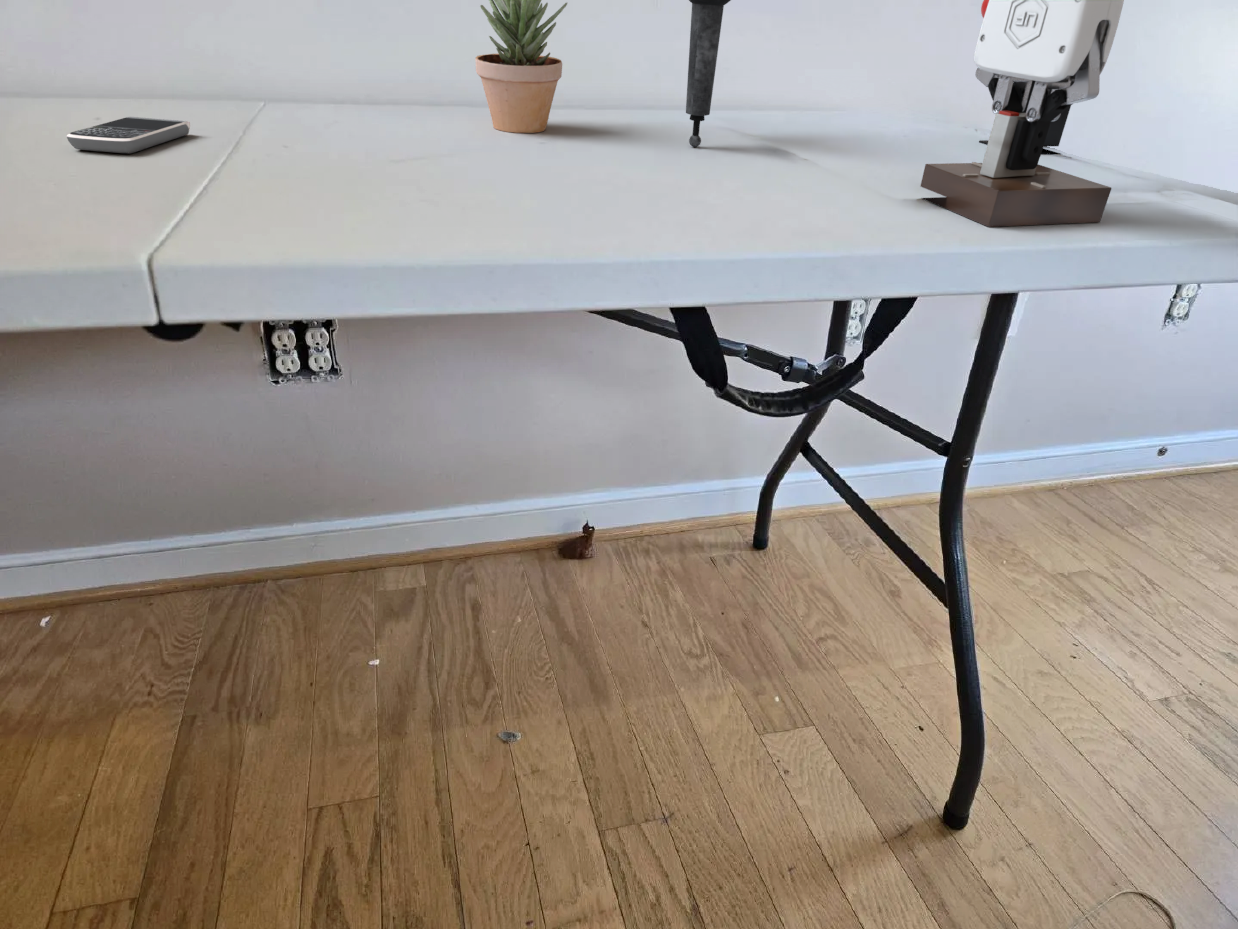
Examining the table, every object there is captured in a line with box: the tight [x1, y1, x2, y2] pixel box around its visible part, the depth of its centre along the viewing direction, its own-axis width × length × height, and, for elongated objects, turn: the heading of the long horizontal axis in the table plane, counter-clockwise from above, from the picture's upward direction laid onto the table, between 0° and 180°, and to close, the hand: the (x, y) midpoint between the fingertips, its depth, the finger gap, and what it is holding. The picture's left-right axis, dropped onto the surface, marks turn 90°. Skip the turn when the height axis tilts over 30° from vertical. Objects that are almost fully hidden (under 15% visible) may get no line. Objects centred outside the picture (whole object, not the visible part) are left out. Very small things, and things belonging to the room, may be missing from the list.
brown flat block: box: [920, 161, 1113, 228], centre depth 76 cm, size 12×10×3 cm
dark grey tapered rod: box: [685, 0, 732, 148], centre depth 89 cm, size 7×7×20 cm
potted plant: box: [475, 0, 568, 134], centre depth 91 cm, size 10×10×25 cm
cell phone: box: [66, 116, 191, 155], centre depth 80 cm, size 6×11×1 cm, turn 174°
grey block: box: [980, 110, 1037, 178], centre depth 74 cm, size 5×2×5 cm, turn 115°
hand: (1010, 164), depth 75 cm, fingers closed on grey block
